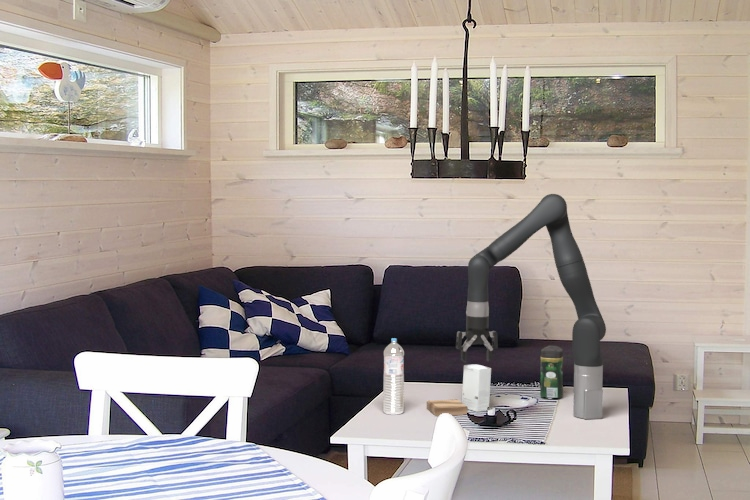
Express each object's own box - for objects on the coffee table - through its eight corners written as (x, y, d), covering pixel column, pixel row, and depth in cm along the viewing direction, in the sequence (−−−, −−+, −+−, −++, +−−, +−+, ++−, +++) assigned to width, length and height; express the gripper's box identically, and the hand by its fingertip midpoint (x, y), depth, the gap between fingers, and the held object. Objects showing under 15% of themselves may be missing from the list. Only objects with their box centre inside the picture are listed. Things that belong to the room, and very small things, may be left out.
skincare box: (461, 407, 321) (461, 365, 320) (474, 405, 325) (474, 363, 324) (478, 412, 315) (478, 368, 314) (491, 410, 318) (491, 366, 317)
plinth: (467, 414, 311) (467, 405, 311) (435, 416, 309) (435, 407, 309) (457, 407, 322) (457, 398, 322) (426, 408, 320) (426, 400, 319)
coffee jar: (542, 393, 345) (542, 343, 344) (563, 395, 343) (564, 344, 342) (538, 399, 336) (539, 347, 335) (560, 400, 334) (561, 348, 333)
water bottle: (390, 409, 318) (391, 336, 317) (407, 412, 314) (408, 338, 313) (379, 413, 313) (379, 338, 311) (396, 416, 309) (396, 340, 307)
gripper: (460, 316, 313) (459, 364, 314) (501, 315, 316) (500, 363, 317) (454, 313, 320) (453, 360, 321) (493, 312, 323) (492, 359, 324)
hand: (476, 361), depth 319 cm, fingers open, 8 cm apart
